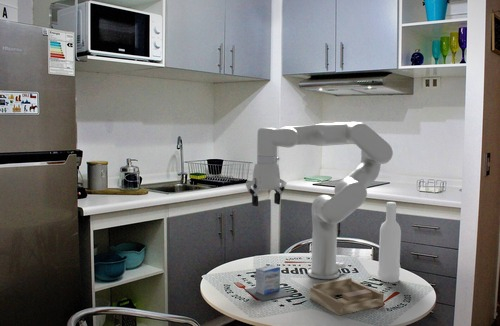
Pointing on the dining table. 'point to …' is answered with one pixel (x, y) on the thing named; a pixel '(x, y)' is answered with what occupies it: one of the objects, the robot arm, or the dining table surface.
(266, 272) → the medicine box
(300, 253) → the dining table surface
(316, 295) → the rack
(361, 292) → the offcut stack
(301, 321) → the dining table surface
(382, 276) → the bottle
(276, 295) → the mat
